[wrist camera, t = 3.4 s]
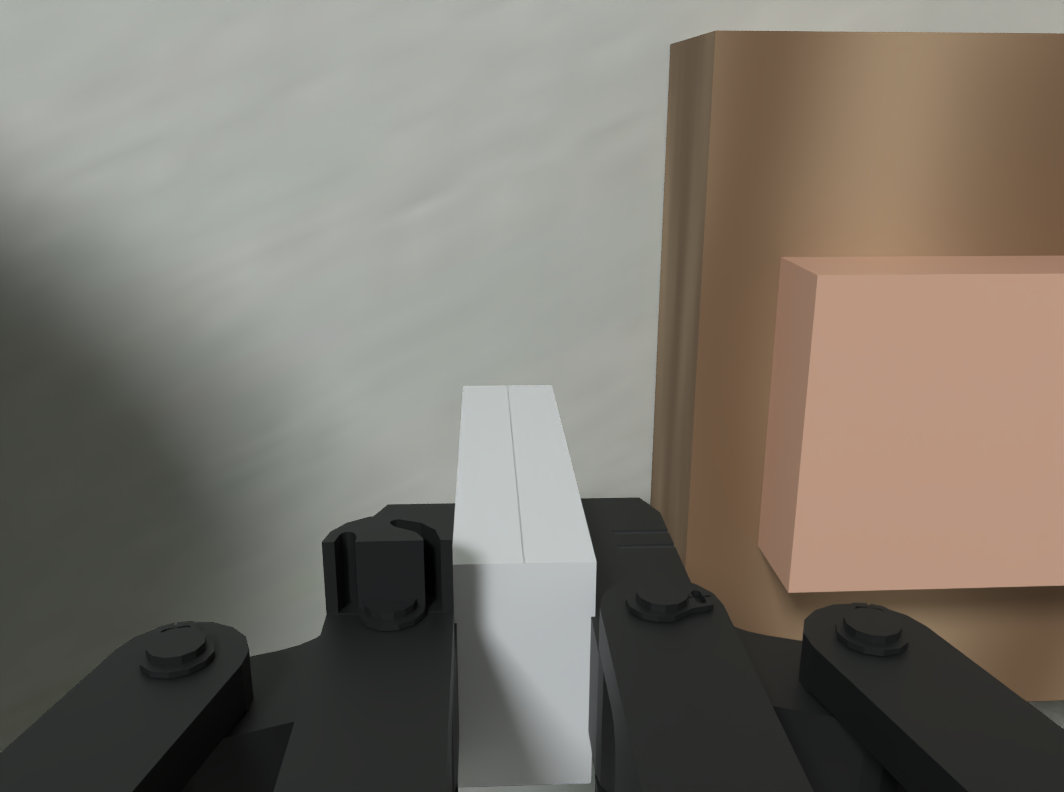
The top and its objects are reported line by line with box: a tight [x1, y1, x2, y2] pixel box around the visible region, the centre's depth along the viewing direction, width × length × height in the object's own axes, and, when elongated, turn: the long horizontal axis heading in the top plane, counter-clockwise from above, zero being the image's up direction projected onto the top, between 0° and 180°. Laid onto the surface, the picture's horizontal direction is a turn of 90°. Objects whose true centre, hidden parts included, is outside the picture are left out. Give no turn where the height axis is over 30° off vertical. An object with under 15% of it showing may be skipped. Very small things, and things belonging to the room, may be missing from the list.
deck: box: [650, 31, 1064, 701], centre depth 21 cm, size 14×14×4 cm
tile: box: [758, 256, 1064, 593], centre depth 18 cm, size 9×6×2 cm, turn 90°
